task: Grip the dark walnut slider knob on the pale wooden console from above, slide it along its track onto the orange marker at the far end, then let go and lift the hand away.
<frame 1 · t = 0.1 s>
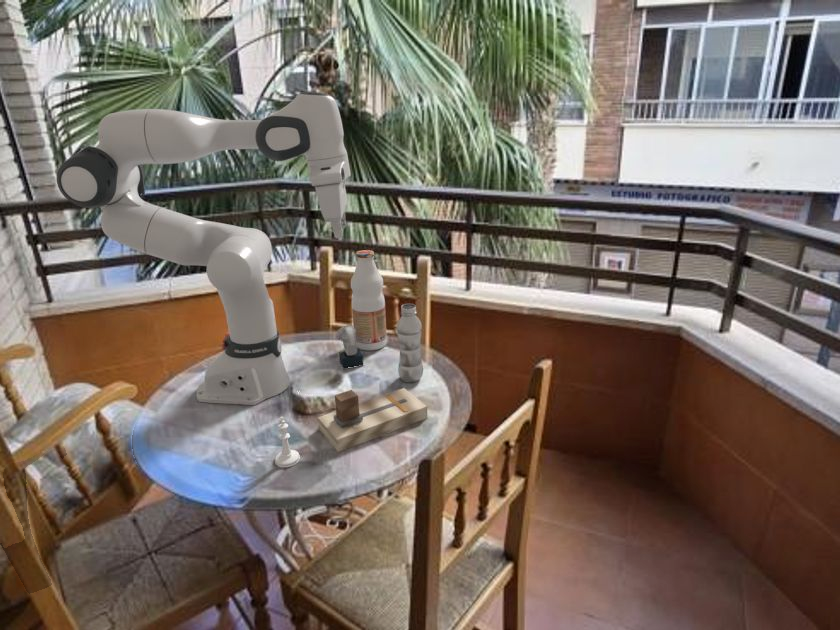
hand: (341, 232, 122), 39 cm above the table, tool pointing down, fingers open, 8 cm apart
fruit juice: (371, 345, 158), on the table
chess piece: (287, 460, 108), on the table
plastic bottle: (411, 379, 138), on the table
watch: (351, 364, 146), on the table
slider: (347, 407, 114), point 6 cm above the table, slide at -6.0 cm
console: (373, 423, 119), on the table
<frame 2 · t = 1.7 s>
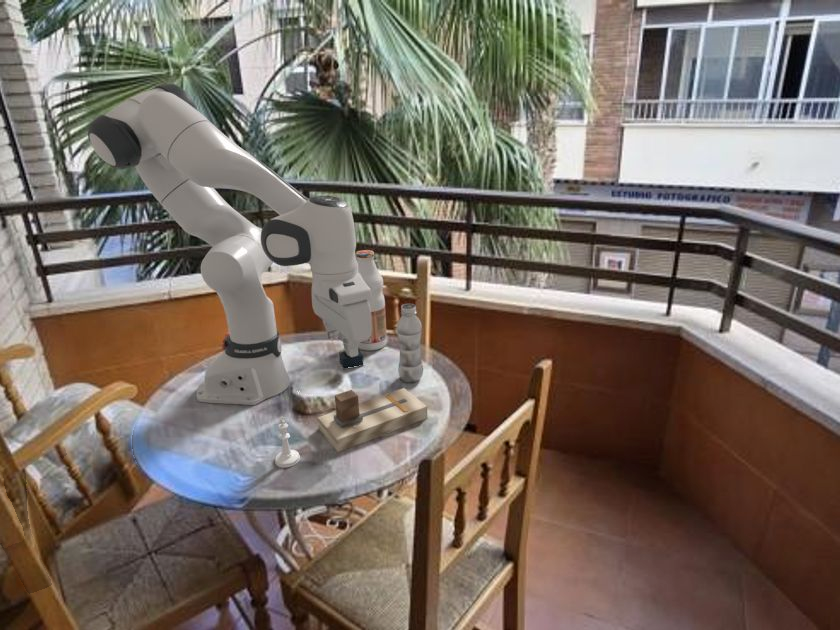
hand: (342, 346, 108), 21 cm above the table, tool pointing down, fingers open, 8 cm apart
nothing on the table moved.
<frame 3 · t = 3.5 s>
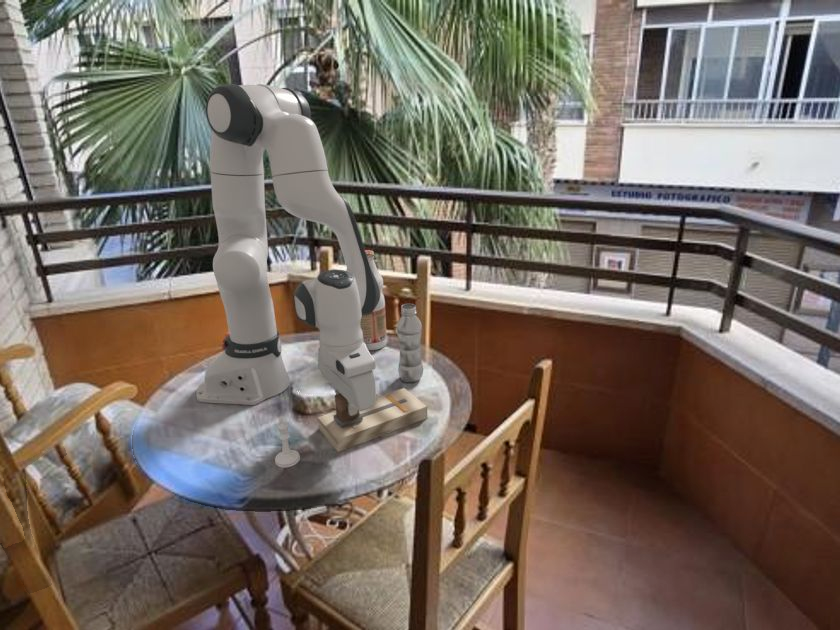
hand: (347, 408, 114), 6 cm above the table, tool pointing down, fingers closed on slider, 3 cm apart
slider: (347, 407, 114), point 6 cm above the table, slide at -6.0 cm, touching gripper
everything else where it was.
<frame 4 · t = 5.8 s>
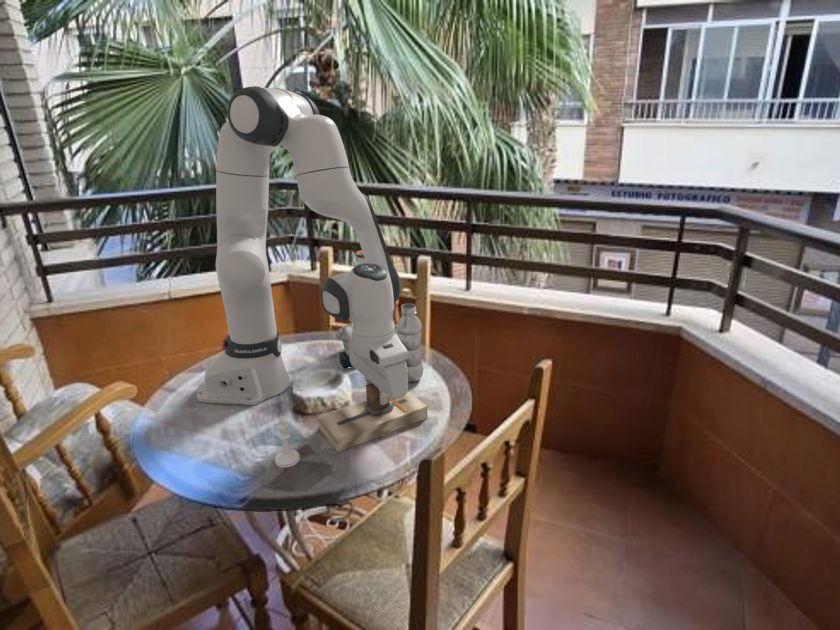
hand: (378, 398, 118), 6 cm above the table, tool pointing down, fingers closed on slider, 3 cm apart
slider: (377, 397, 118), point 6 cm above the table, slide at 1.4 cm, touching gripper
everything else where it was.
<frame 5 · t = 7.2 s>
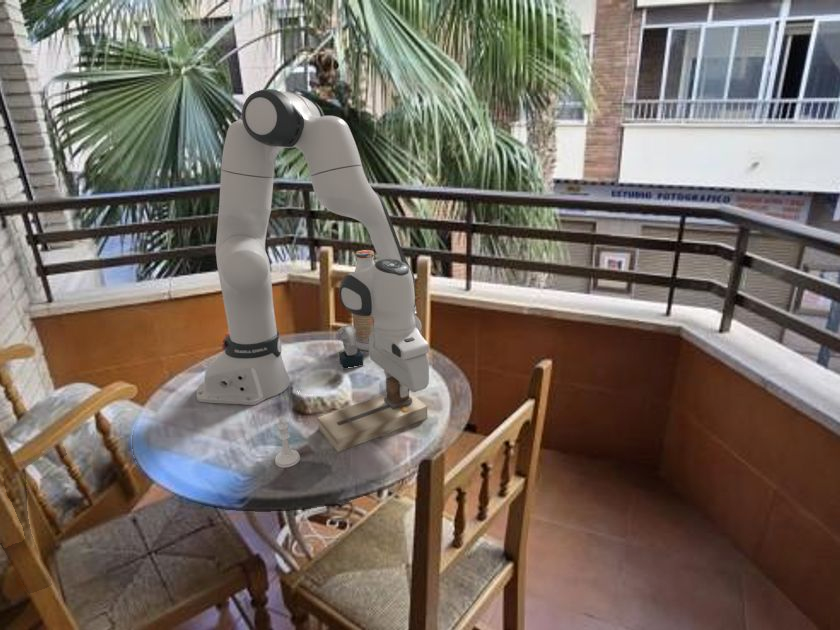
hand: (397, 391, 120), 6 cm above the table, tool pointing down, fingers closed on slider, 3 cm apart
slider: (397, 390, 120), point 6 cm above the table, slide at 6.5 cm, touching gripper
everything else where it was.
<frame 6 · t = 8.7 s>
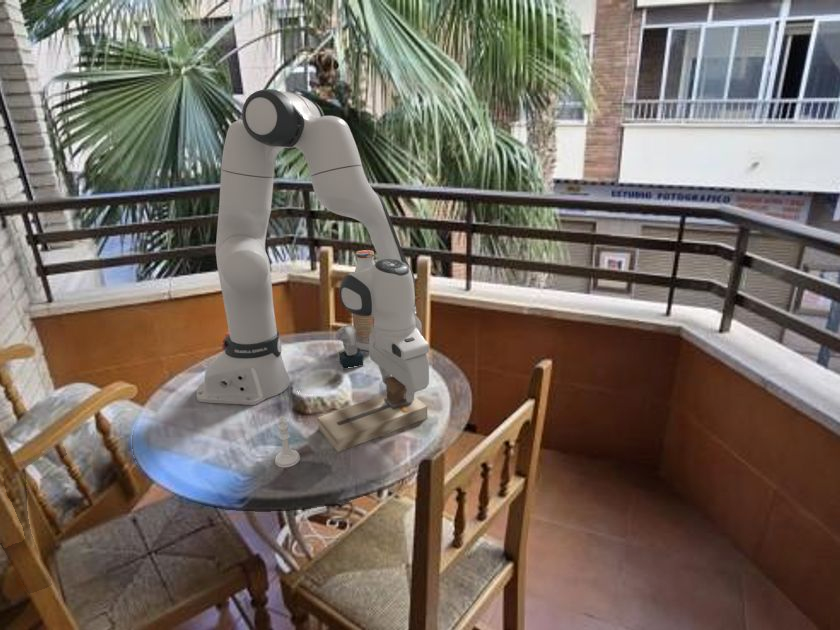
hand: (397, 391, 120), 6 cm above the table, tool pointing down, fingers open, 8 cm apart
slider: (397, 390, 120), point 6 cm above the table, slide at 6.5 cm
everything else where it was.
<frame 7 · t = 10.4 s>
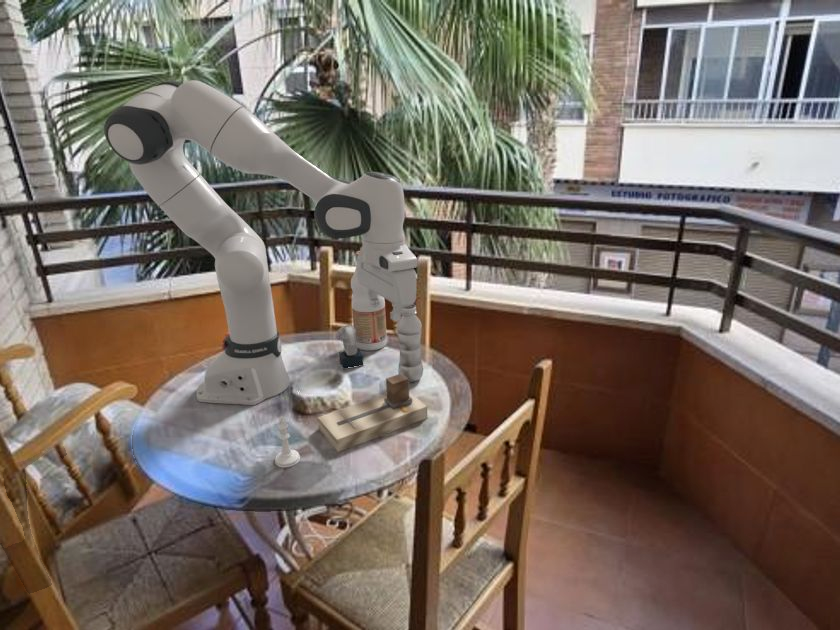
hand: (384, 313, 118), 23 cm above the table, tool pointing down, fingers open, 8 cm apart
nothing on the table moved.
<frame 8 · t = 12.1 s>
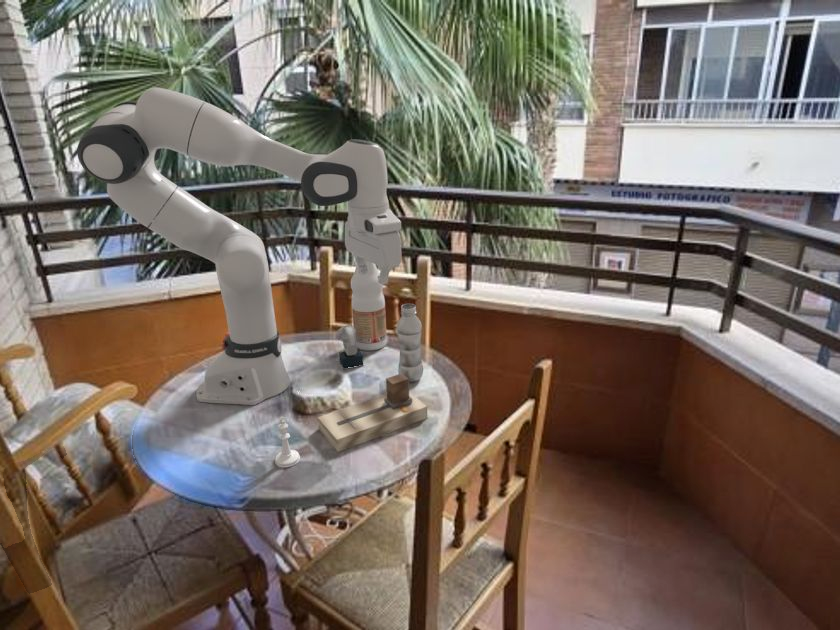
hand: (372, 278, 122), 29 cm above the table, tool pointing down, fingers open, 8 cm apart
nothing on the table moved.
at the end: slider slide at 6.5 cm; the gripper is holding nothing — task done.
